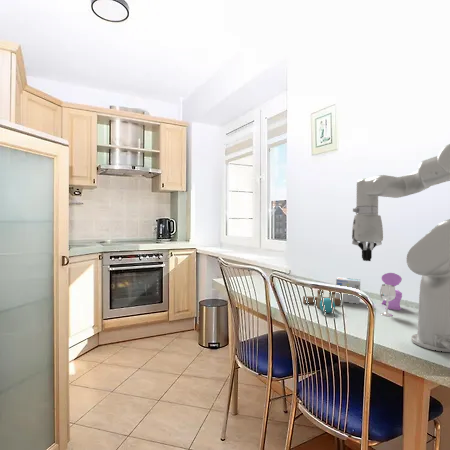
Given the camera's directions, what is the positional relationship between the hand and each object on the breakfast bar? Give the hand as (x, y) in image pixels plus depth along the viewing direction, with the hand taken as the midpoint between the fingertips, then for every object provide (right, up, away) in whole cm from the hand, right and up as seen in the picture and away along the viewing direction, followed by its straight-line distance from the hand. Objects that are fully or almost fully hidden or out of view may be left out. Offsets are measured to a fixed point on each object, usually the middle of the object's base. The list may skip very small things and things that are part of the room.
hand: (366, 260), depth 125 cm
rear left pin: (-13, -22, +18) cm, 31 cm away
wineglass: (+13, -24, +11) cm, 29 cm away
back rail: (-10, -22, +24) cm, 34 cm away
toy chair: (+21, -24, +24) cm, 40 cm away
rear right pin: (-8, -22, +18) cm, 30 cm away
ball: (-11, -19, +11) cm, 25 cm away
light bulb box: (+4, -23, +31) cm, 39 cm away
